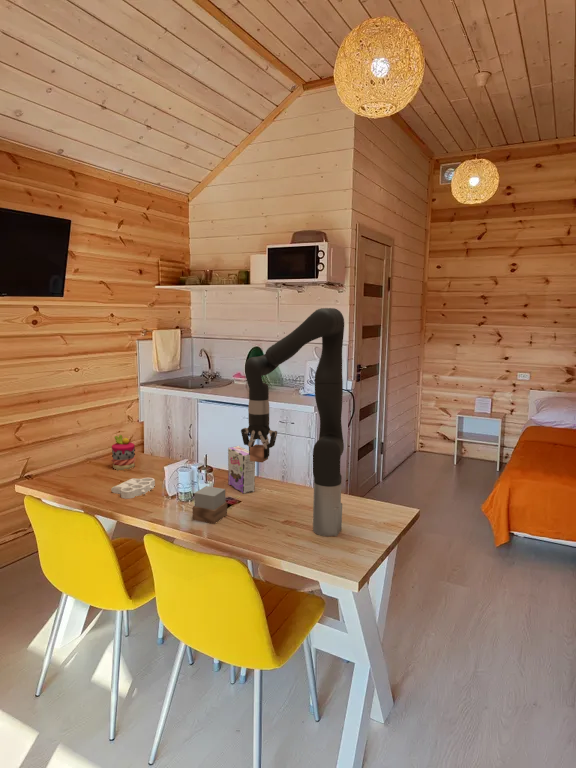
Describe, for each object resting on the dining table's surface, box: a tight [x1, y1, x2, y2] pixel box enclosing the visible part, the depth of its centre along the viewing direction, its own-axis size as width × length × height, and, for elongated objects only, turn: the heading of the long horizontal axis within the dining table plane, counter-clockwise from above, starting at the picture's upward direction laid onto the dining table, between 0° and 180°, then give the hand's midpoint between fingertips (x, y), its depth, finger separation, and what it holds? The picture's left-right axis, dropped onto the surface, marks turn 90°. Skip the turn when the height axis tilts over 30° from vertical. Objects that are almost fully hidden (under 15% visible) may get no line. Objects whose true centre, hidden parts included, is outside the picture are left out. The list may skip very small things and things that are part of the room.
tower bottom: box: [192, 501, 228, 525], centre depth 184 cm, size 9×9×5 cm
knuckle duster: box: [110, 477, 156, 499], centre depth 210 cm, size 3×18×15 cm
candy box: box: [227, 445, 256, 494], centre depth 215 cm, size 14×6×16 cm, turn 33°
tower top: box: [194, 485, 226, 510], centre depth 184 cm, size 8×8×5 cm
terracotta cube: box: [250, 444, 269, 463], centre depth 187 cm, size 5×5×5 cm
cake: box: [110, 434, 137, 471], centre depth 240 cm, size 10×11×15 cm
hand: (259, 457), depth 187 cm, fingers closed on terracotta cube, 5 cm apart
